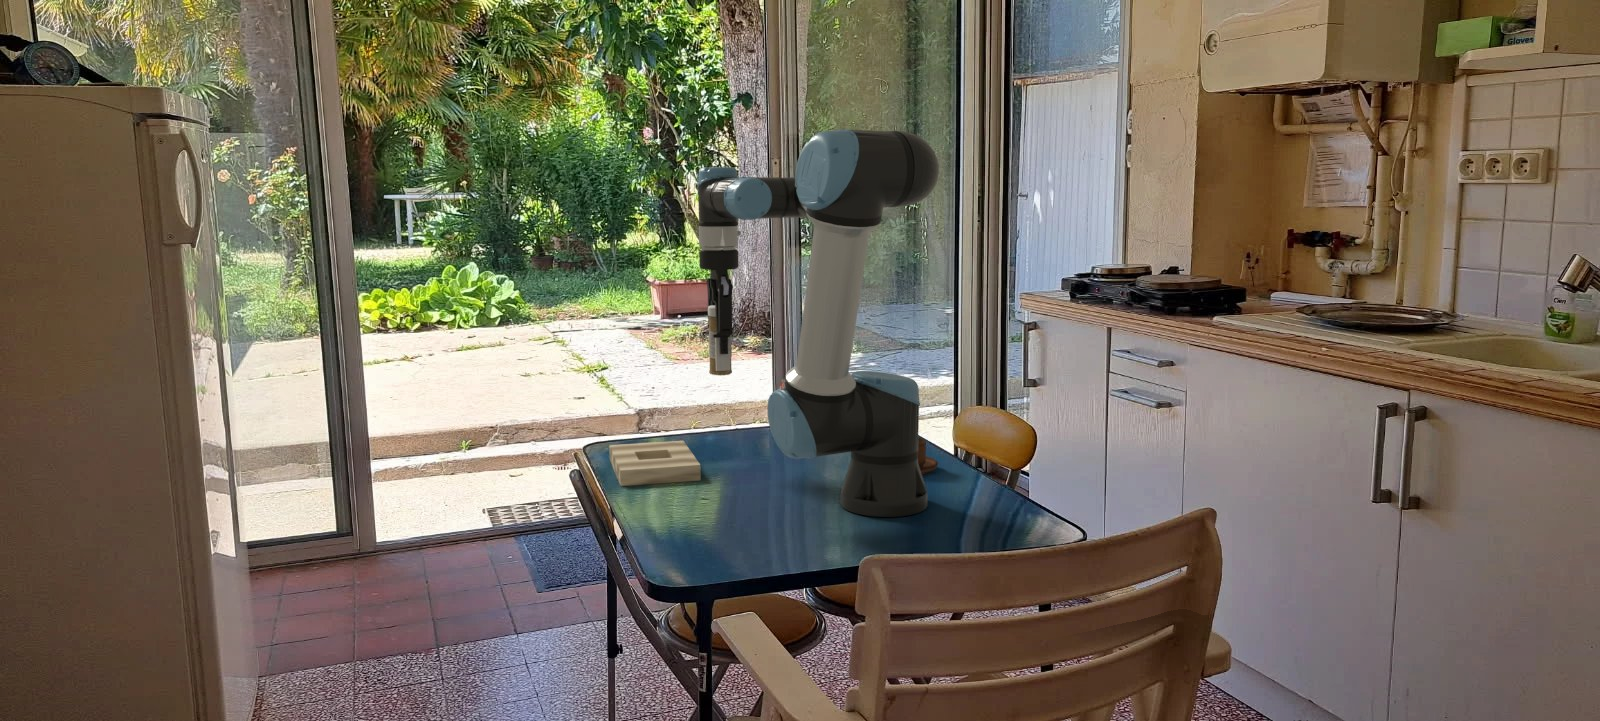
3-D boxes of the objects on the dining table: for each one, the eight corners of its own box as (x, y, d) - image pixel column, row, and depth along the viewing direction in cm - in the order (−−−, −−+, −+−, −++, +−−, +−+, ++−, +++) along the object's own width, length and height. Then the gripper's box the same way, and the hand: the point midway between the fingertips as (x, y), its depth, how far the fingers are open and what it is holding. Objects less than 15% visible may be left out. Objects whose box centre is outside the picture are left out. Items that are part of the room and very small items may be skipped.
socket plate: (700, 480, 209) (700, 464, 208) (620, 486, 205) (620, 470, 204) (683, 454, 228) (683, 440, 227) (609, 459, 224) (609, 445, 223)
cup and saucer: (935, 481, 208) (935, 449, 207) (871, 478, 211) (872, 446, 210) (940, 465, 220) (940, 435, 219) (880, 462, 222) (880, 432, 221)
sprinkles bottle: (721, 371, 220) (720, 303, 218) (737, 373, 217) (736, 305, 214) (704, 374, 216) (702, 305, 214) (719, 376, 213) (718, 307, 211)
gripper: (747, 250, 205) (749, 374, 209) (728, 245, 222) (730, 360, 226) (707, 251, 203) (709, 376, 207) (691, 246, 220) (693, 362, 224)
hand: (720, 368), depth 216 cm, fingers closed on sprinkles bottle, 4 cm apart
